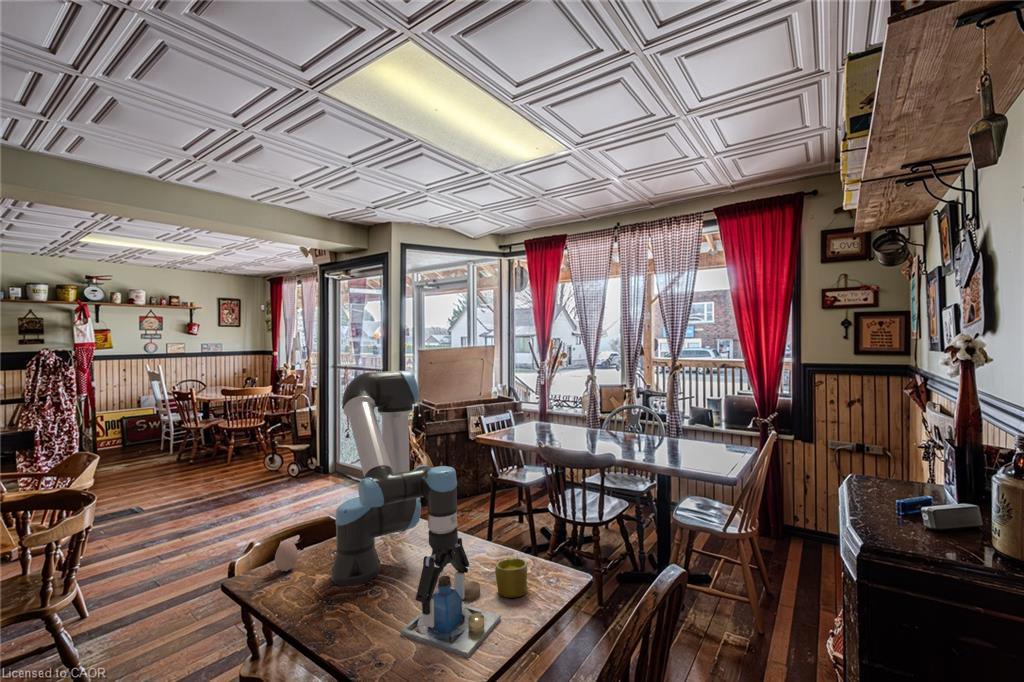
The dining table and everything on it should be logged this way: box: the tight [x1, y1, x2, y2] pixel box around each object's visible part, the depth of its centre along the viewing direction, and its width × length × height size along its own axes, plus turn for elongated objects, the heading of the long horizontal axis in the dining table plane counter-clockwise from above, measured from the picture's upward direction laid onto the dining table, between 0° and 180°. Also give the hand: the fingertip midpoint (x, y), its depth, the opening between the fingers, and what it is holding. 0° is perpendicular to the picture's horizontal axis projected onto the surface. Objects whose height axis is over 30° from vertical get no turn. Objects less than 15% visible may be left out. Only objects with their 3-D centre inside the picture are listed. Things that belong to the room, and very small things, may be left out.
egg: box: [274, 540, 299, 572], centre depth 146 cm, size 7×7×10 cm
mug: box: [495, 556, 528, 599], centre depth 131 cm, size 12×10×10 cm
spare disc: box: [463, 580, 481, 601], centre depth 129 cm, size 6×6×2 cm
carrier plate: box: [400, 604, 502, 659], centre depth 114 cm, size 20×16×4 cm
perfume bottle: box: [427, 575, 463, 633], centre depth 115 cm, size 6×6×12 cm
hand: (445, 610), depth 115 cm, fingers open, 13 cm apart
